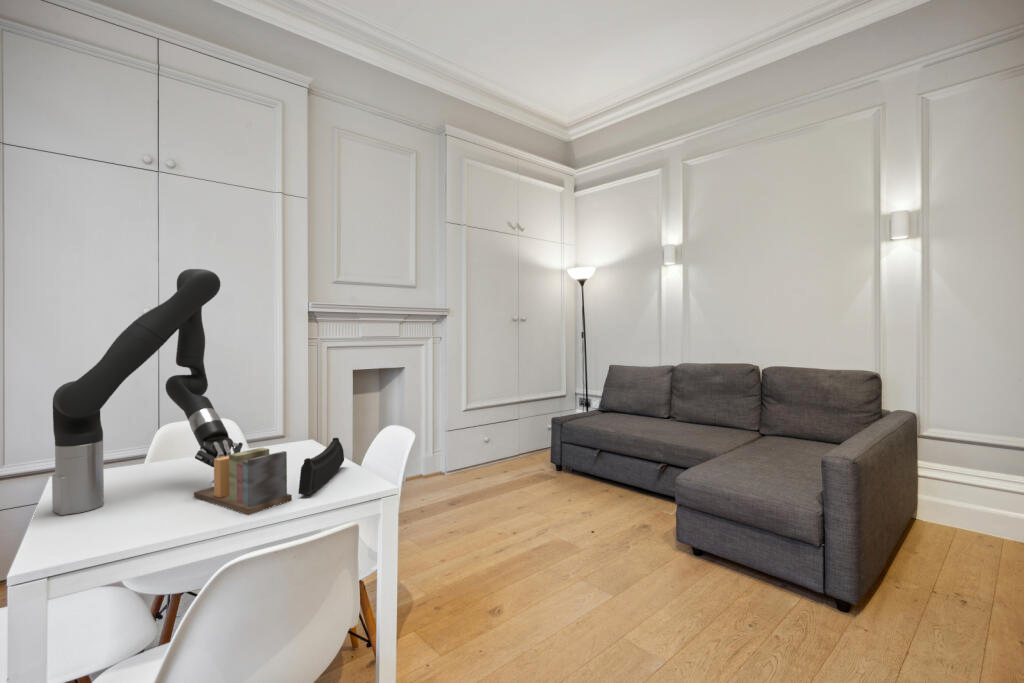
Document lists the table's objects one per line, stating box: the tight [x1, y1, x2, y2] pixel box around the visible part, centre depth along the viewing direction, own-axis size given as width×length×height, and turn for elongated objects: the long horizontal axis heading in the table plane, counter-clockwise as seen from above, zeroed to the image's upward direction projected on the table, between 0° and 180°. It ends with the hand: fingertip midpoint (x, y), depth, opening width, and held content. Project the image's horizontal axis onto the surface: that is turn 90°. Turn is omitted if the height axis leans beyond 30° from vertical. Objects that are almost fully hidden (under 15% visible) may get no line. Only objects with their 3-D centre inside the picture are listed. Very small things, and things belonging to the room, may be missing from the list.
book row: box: [193, 447, 293, 516], centre depth 128 cm, size 12×26×14 cm, turn 60°
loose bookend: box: [213, 456, 229, 498], centre depth 129 cm, size 10×3×10 cm, turn 150°
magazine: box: [297, 437, 345, 496], centre depth 143 cm, size 17×3×30 cm
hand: (232, 475), depth 130 cm, fingers closed
